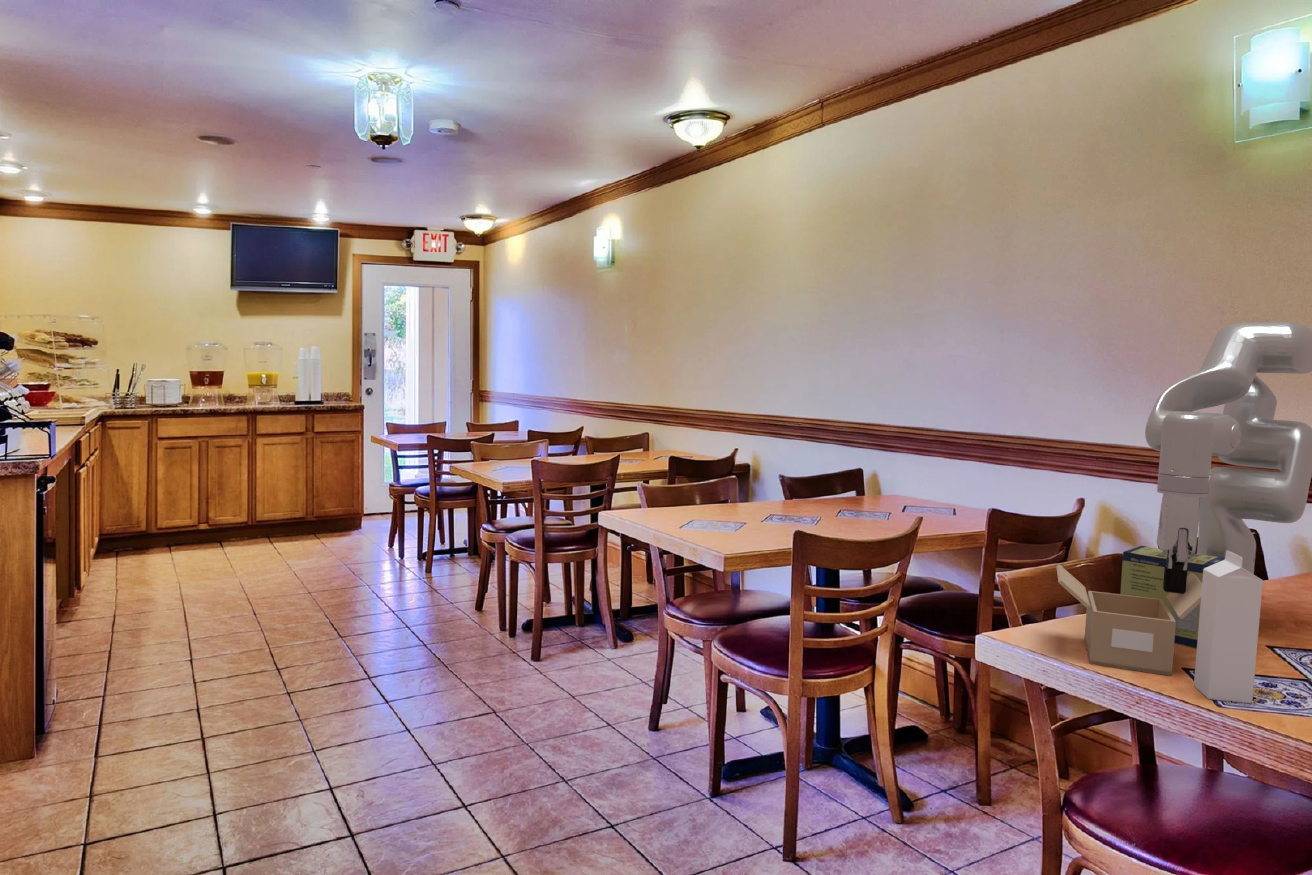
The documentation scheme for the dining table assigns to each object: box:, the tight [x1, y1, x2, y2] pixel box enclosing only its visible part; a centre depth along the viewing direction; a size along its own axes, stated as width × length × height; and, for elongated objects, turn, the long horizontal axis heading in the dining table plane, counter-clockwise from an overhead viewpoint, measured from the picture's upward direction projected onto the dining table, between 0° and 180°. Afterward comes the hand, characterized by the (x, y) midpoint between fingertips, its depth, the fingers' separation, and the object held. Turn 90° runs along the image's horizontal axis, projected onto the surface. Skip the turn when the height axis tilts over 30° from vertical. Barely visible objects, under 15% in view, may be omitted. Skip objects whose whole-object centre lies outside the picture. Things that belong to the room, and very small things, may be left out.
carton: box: [1084, 590, 1176, 677], centre depth 151 cm, size 16×12×9 cm
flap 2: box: [1166, 573, 1202, 619], centre depth 147 cm, size 15×1×6 cm
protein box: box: [1119, 545, 1225, 649], centre depth 165 cm, size 10×16×16 cm
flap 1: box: [1055, 563, 1090, 609], centre depth 154 cm, size 15×1×6 cm
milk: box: [1193, 550, 1264, 704], centre depth 133 cm, size 6×6×22 cm
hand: (1174, 591), depth 149 cm, fingers closed
